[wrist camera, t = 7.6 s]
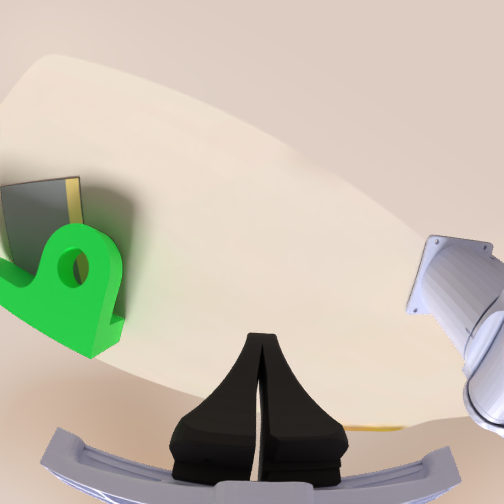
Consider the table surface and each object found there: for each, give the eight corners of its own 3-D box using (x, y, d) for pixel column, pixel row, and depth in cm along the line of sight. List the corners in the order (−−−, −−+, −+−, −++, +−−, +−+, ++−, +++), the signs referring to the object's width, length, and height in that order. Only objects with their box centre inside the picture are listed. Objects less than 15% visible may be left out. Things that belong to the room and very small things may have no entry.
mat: (79, 177, 20) (78, 178, 19) (102, 315, 25) (101, 315, 25) (1, 187, 20) (0, 187, 20) (25, 297, 25) (24, 297, 25)
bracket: (146, 249, 26) (123, 238, 19) (119, 341, 25) (91, 359, 17) (15, 199, 24) (-19, 182, 17) (-5, 273, 23) (-43, 270, 16)
